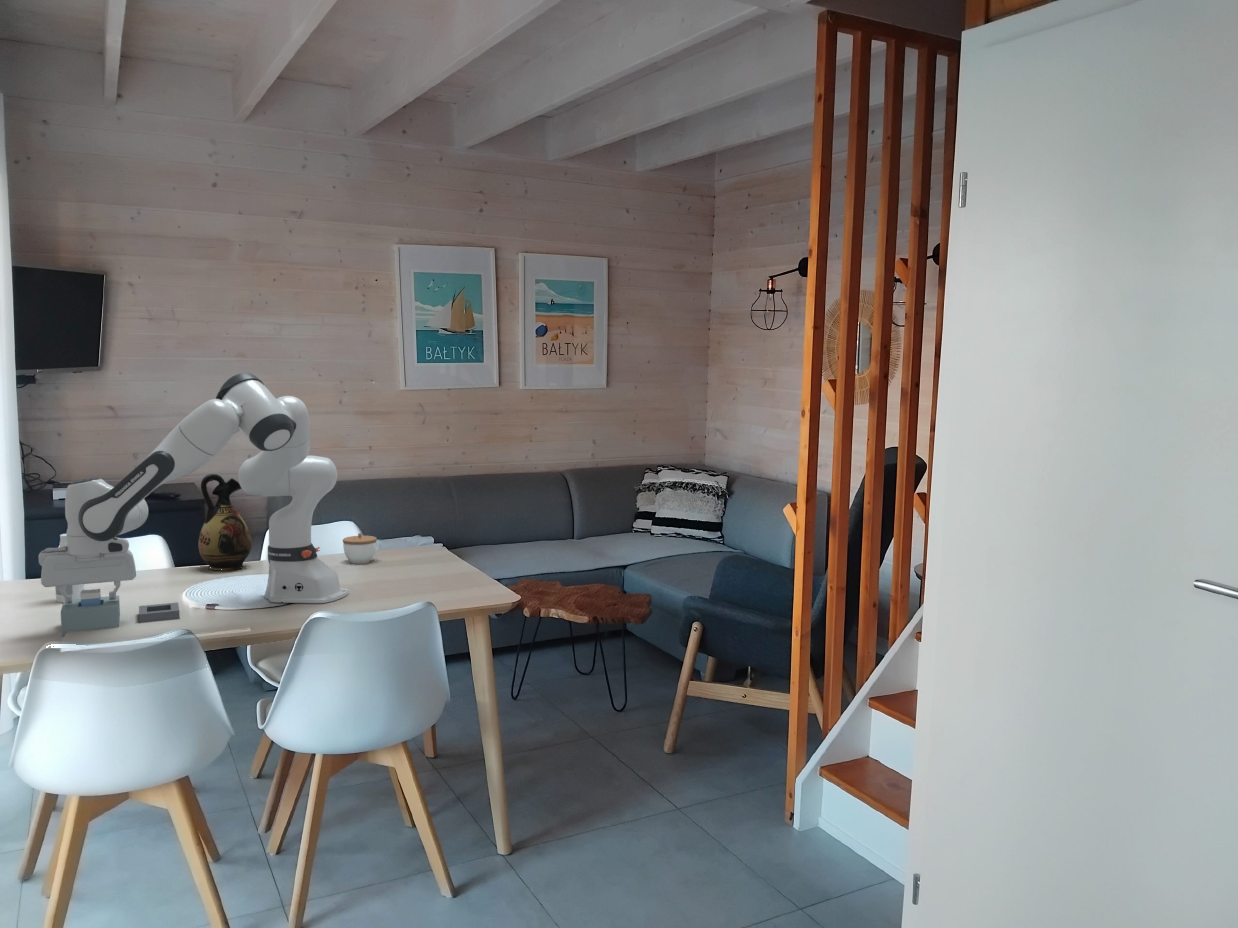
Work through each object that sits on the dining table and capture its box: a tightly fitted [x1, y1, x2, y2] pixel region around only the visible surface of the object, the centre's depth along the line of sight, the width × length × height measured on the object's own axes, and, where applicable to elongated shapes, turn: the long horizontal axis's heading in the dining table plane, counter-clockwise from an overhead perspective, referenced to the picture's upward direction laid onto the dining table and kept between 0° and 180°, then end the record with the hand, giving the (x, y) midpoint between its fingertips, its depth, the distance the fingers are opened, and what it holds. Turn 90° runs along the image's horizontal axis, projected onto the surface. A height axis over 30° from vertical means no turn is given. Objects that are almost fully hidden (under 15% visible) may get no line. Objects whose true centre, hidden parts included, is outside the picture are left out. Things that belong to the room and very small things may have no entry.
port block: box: [60, 594, 121, 637], centre depth 233 cm, size 12×12×6 cm
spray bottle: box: [55, 533, 85, 604], centre depth 259 cm, size 7×7×18 cm
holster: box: [138, 602, 181, 624], centre depth 240 cm, size 9×9×3 cm
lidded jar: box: [342, 533, 378, 565], centre depth 312 cm, size 11×11×9 cm
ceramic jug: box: [198, 473, 253, 572], centre depth 299 cm, size 17×15×30 cm
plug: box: [80, 588, 102, 607], centre depth 233 cm, size 4×4×9 cm
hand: (90, 601), depth 233 cm, fingers open, 8 cm apart
